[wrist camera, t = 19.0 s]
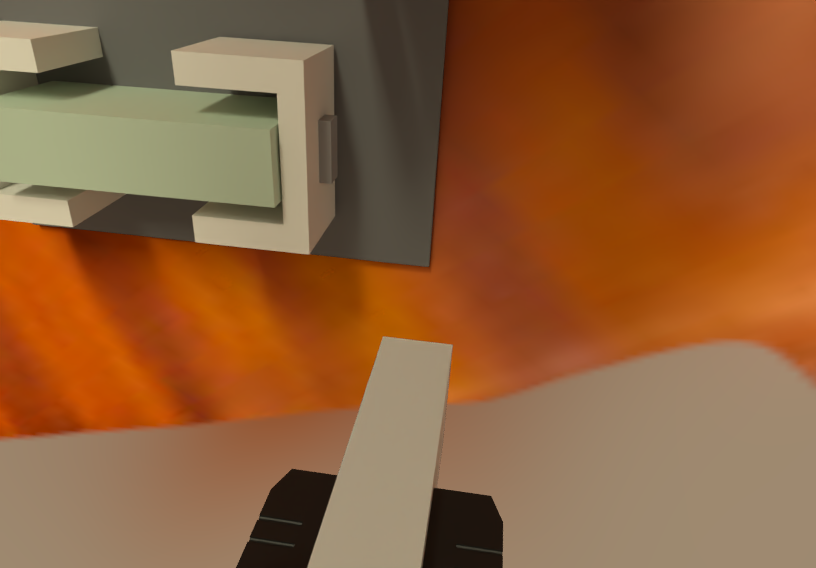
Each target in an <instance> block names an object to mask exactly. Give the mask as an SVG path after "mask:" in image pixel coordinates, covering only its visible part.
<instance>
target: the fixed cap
mask: <svg viewBox="0 0 816 568" xmlns="http://www.w3.org/2000/svg"><path fill="white" fill-rule="evenodd" d="M100 57H103V54H102V48H101V43H100V37H99V31H98V27H86V26H72V25H58V24H44V23H30V22H16V21H0V95H3V94H6V93H10V92H13V91H17V90H21V89H24V88H28V87H32V86H35V85H38V80H37V76H36V73H40V72H44V71H48V70H52V69H56V68H60V67H64V66H68V65H72V64H76V63H80V62H84V61H88V60H92V59H96V58H100ZM124 195H126V193H115V192H105V191H95V190H84V189H74V188H63V187H53V186H43V185H32V184H22V183H11V182H1V181H0V219H1V220H11V221H20V222H29V223H38V224H48V225H57V226H66V227H74V226H76V225H78V224H79V223H81V222H82V221H84V220H86V219H87V218H89V217H90V216H92V215H94V214H95V213H97V212H98V211H100V210H102V209H103V208H105V207H106V206H108V205H110V204H111V203H113V202H114V201H116V200H118V199H119V198H121V197H122V196H124Z"/></svg>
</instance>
